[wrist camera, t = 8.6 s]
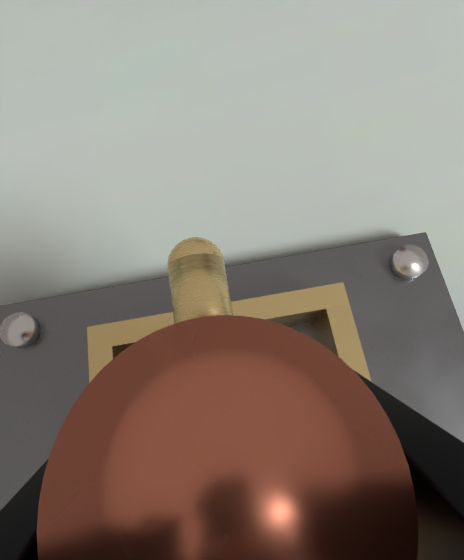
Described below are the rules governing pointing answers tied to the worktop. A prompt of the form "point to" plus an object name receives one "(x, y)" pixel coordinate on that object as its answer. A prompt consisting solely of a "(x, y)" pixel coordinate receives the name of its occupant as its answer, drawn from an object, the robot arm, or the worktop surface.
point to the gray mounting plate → (251, 303)
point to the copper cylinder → (225, 445)
